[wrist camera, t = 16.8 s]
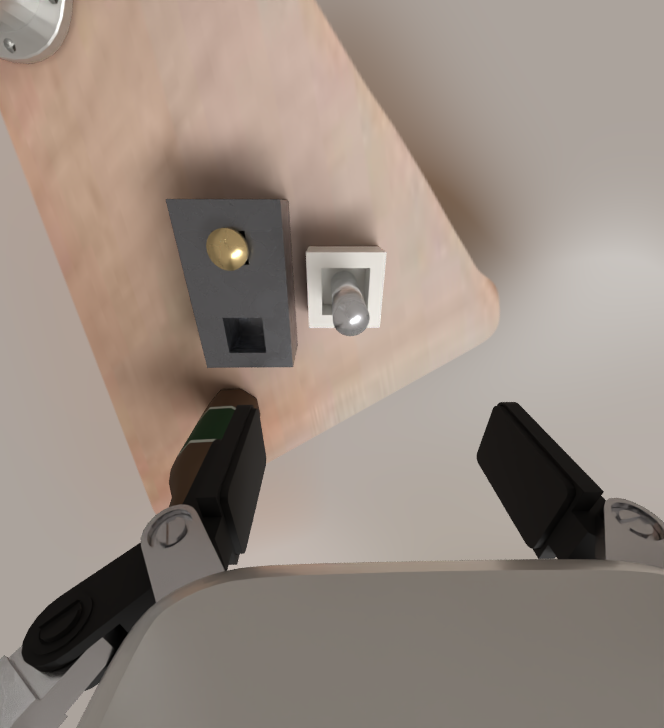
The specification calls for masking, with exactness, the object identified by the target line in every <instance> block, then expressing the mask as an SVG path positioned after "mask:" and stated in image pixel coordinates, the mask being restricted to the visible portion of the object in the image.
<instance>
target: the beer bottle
mask: <svg viewBox="0 0 664 728" xmlns="http://www.w3.org/2000/svg"><path fill="white" fill-rule="evenodd" d="M237 405H253V406H254V408H258V410H259V407H258V403H257V399H256V398H255V397H253V396H251V395H250V394H248V393H247V392H245V391H244V390H242V389H227V390H221V391H220V392H219V393H218V394H217V395H216V397H215V398H214V399H213V400H212V401H211V403H210V404H209V405H208V407H207V408H206V410H205V411H204V413H203V415H202V416H201V418H200V420H199V421H198V423H197V425H196V426H195V428H194V430H193V431H192V433H191V435H190V436H189V438H188V439H187V441H186V443H185V444H184V446H183V448H182V449H181V451H180V453H179V454H178V456H177V458H176V460H175V462H174V464H173V466H172V468H171V472H170V479H169V485H170V490H171V495H172V499H171V502H170V505H169V507H171V506H175V505H180V504H183V502H184V500H185V498H186V496H187V494H188V491H189V489H190V487H191V485H192V483H193V481H194V479H195V477H196V475H197V473H198V471H199V469H200V467H201V465H202V462H203V460H204V458H205V456H206V454H207V452H208V450H209V448H210V446H211V444H212V442H213V441H214V440H215V439H222V438H223V435H224V433H225V431H226V429H227V427H228V424H229V422H230V420H231V418H232V415H233V413H234V411H235V409H236V407H237ZM259 416H260V411H259Z"/></svg>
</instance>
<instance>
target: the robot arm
mask: <svg viewBox="0 0 664 728" xmlns="http://www.w3.org/2000/svg"><path fill="white" fill-rule="evenodd" d="M72 4H73V0H0V59H3V60H6V61H10V62H13V63H23V64H31V63H36V62H41V61H43V60H45V59H46V58H48V57H50V56H52V55H53V54H54V53H55V52H56V51H57V50H58V49H59V47H60V46H61V45H62V43H63V41H64V39H65V37H66V35H67V33H68V30H69V26H70V22H71V17H72ZM477 461H478V463H479V465H480V467H481V469H482V470H483V472H484V474H485V475H486V477H487V479H488V480H489V482H490V484H491V485H492V487H493V489H494V491H495V492H496V494H497V496H498V497H499V499H500V500H501V502H502V504H503V506H504V507H505V509H506V511H507V513H508V514H509V516H510V518H511V519H512V521H513V523H514V524H515V526H516V528H517V529H518V531H519V533H520V534H521V536H522V538H523V540H524V541H525V543H526V544H527V545H528V546H529V547H530V548H532V549H533V550H534V552H535V553H536V555H537V557H538V560H537V559H530V560H460V561H409V562H407V561H406V562H362V563H320V564H294V565H270V566H258V567H247V568H239V569H234V570H229V571H227V569H228V565H232V564H233V565H234V564H235V565H236V564H237V562H238V558H239V555H240V553H241V554H242V553H245V551H246V547H247V543H248V539H249V534H250V530H251V526H252V522H253V517H254V513H255V509H256V504H257V500H258V496H259V492H260V487H261V483H262V479H263V474H264V470H265V466H266V453H265V447H264V441H263V434H262V428H261V422H260V416H259V410H258V408H254V406H253V405H237V407H236V409H235V411H234V413H233V415H232V418H231V420H230V422H229V424H228V427H227V429H226V431H225V433H224V435H223V438H222V439H215V440H214V441H213V442H212V444H211V446H210V448H209V450H208V452H207V454H206V456H205V458H204V460H203V462H202V465H201V467H200V469H199V471H198V473H197V475H196V477H195V479H194V481H193V483H192V485H191V487H190V489H189V491H188V494H187V496H186V498H185V500H184V502H183V504H180V505H175V506H171V507H169V508H167V509H164V510H163V511H161V512H160V513H158V514H157V515H155V517H154V518H153V519H152V520H151V521H150V522H149V523H148V524H147V526H146V527H145V529H144V530H143V533H142V537H141V543H139V544H138V545H136V546H135V547H133V548H132V549H130V550H129V551H127V552H126V553H124V554H123V555H121V556H120V557H119V558H117V559H115V560H114V561H112V562H111V563H109V564H108V565H106V566H105V567H103V568H102V569H100V570H99V571H97V572H96V573H94V574H93V575H91V576H90V577H88V578H87V579H85V580H84V581H82V582H81V583H79V584H78V585H76V586H75V587H73V588H72V589H70V590H69V591H67V592H66V593H64V594H63V595H62V596H60V597H59V598H57V599H56V600H55V601H54V602H52V603H51V604H50V605H48V606H47V607H46V608H45V610H44V611H43V612H42V613H41V614H40V615H39V616H38V617H37V618H36V620H35V621H34V623H33V624H32V625H31V627H30V628H29V630H28V632H27V634H26V636H25V638H24V641H23V645H22V646H21V647H20V648H19V649H18V650H16V652H14V653H13V654H12V655H11V656H10V657H9V658H8V657H6V656H5V655H4V656H3V657H2V658H1V659H0V728H58V727H59V726H60V725H61V724H62V723H63V722H64V720H65V719H66V718H67V715H66V714H65V713H66V712H67V711H68V710H69V708H70V707H71V706H72V704H74V702H75V701H76V700H77V699H78V697H79V696H80V695H81V694H82V693H83V692H84V691H86V690H88V689H91V688H92V687H94V686H95V685H97V684H98V683H99V684H98V686H97V688H96V690H95V692H94V694H93V696H92V698H91V700H90V702H89V704H88V706H87V708H86V710H85V712H84V714H83V716H82V717H81V720H80V722H79V724H78V726H77V728H664V522H663V521H662V520H661V519H659V518H658V517H657V516H656V515H655V514H653V513H652V512H650V511H649V510H647V509H646V508H644V507H642V506H640V505H638V504H636V503H634V502H631V501H628V500H626V499H620V498H610V499H608V500H605V499H604V498H603V497H602V496H601V495H602V493H603V490H601V488H600V487H599V486H598V485H597V484H596V483H595V482H594V481H593V480H592V479H591V478H590V477H589V476H588V475H587V474H586V473H585V472H584V471H583V470H582V469H581V468H580V467H579V466H578V465H577V464H576V463H575V462H574V461H573V460H572V459H571V457H570V456H569V455H568V454H567V453H566V452H565V451H564V450H563V449H562V448H561V447H560V446H559V445H558V444H557V443H556V442H555V441H554V440H553V439H552V438H551V437H550V436H549V435H548V434H547V433H546V432H545V431H544V430H543V429H542V428H541V427H540V426H539V424H537V422H536V421H535V420H534V419H533V418H532V417H531V416H530V415H529V414H528V413H527V412H526V411H525V410H524V409H523V408H522V407H521V406H520V405H519V404H518V403H516V402H501V403H499V404H498V405H497V406H495V407H494V408H493V410H492V413H491V416H490V419H489V422H488V424H487V427H486V430H485V433H484V436H483V438H482V441H481V444H480V447H479V450H478V452H477ZM555 557H557V558H558V559H554V558H555Z"/></svg>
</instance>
